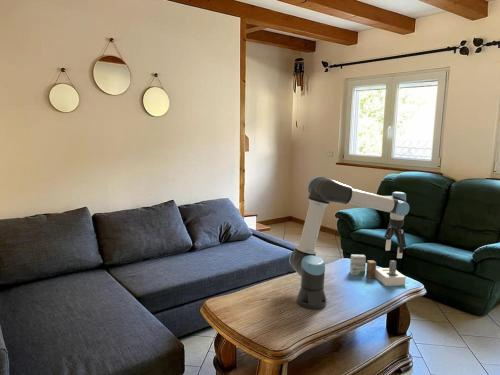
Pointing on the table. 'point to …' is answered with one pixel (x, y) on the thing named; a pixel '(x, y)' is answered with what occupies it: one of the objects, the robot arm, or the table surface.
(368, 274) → the walnut square bar
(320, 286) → the robot arm
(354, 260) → the ink box
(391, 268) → the round peg
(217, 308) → the table surface
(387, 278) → the socket block
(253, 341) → the table surface
